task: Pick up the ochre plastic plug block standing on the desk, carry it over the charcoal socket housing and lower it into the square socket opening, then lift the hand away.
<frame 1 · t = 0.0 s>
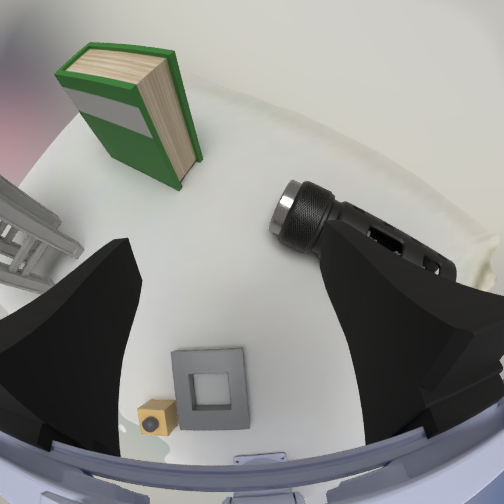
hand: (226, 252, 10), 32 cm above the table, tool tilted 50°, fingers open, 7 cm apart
stool: (53, 254, 44), on the table
plug: (164, 411, 37), on the table
hardback book: (154, 157, 49), on the table
socket housing: (212, 388, 38), on the table
muzzle brake: (354, 257, 44), on the table
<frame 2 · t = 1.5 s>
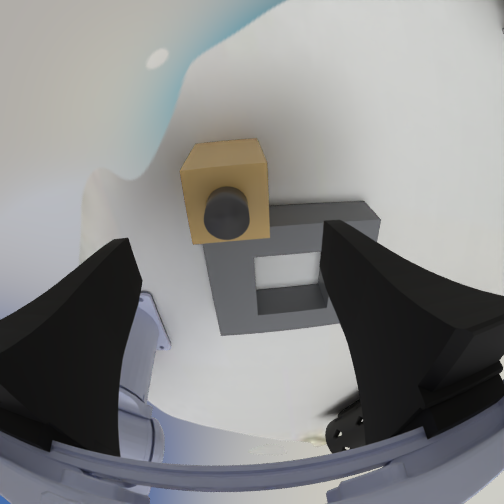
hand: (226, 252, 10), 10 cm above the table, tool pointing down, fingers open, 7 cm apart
plug: (228, 169, 18), on the table
socket housing: (287, 261, 23), on the table
muzzle brake: (394, 372, 37), on the table
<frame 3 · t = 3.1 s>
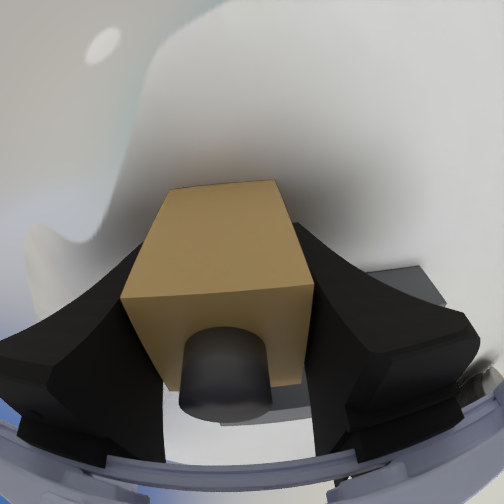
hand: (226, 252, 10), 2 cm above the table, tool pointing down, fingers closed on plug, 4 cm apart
plug: (226, 229, 12), on the table, touching gripper
socket housing: (309, 342, 16), on the table
muzzle brake: (410, 416, 30), on the table
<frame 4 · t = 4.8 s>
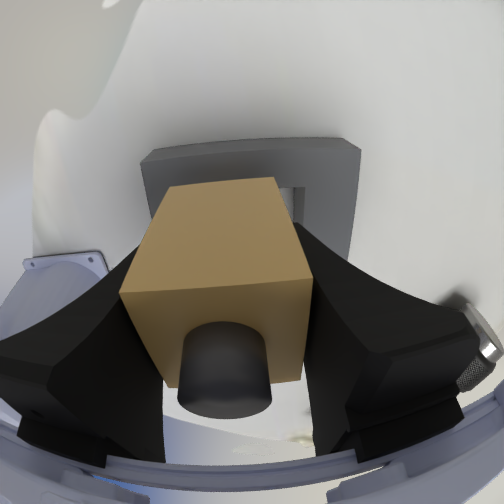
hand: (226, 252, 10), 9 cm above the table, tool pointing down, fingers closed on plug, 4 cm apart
plug: (226, 227, 12), point 7 cm above the table, touching gripper
socket housing: (253, 211, 19), on the table
muzzle brake: (390, 364, 33), on the table
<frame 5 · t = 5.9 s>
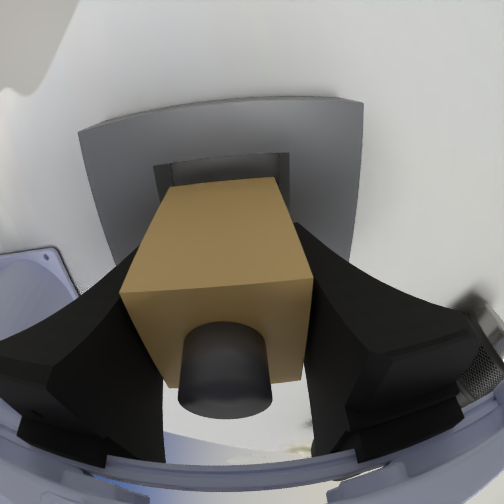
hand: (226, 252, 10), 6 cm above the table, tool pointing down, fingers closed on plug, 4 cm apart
plug: (226, 227, 12), point 4 cm above the table, touching gripper
socket housing: (227, 193, 15), on the table
muzzle brake: (397, 373, 29), on the table
when the fingers open (4 cm above the table, at t = 6.7 s): plug drops 2 cm, resting in socket housing.
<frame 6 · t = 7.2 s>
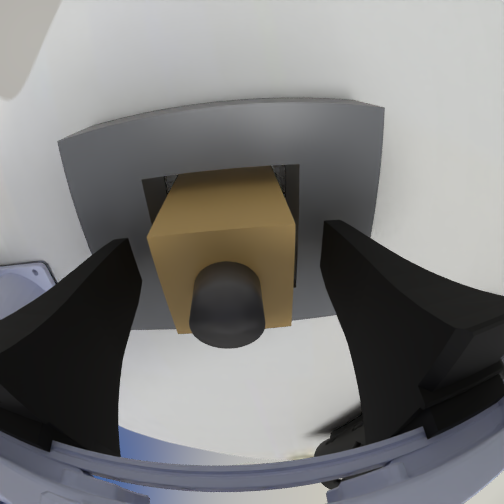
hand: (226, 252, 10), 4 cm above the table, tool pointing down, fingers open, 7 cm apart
plug: (228, 204, 13), resting in socket housing
socket housing: (227, 206, 13), on the table
muzzle brake: (402, 384, 28), on the table
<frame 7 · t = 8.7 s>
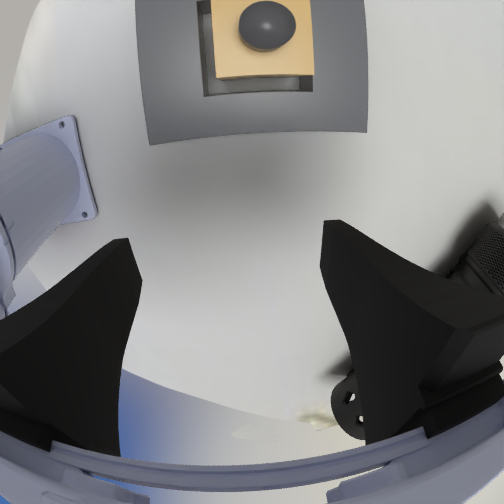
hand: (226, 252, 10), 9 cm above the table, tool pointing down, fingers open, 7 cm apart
plug: (253, 48, 14), resting in socket housing
socket housing: (252, 49, 14), on the table
muzzle brake: (421, 305, 28), on the table
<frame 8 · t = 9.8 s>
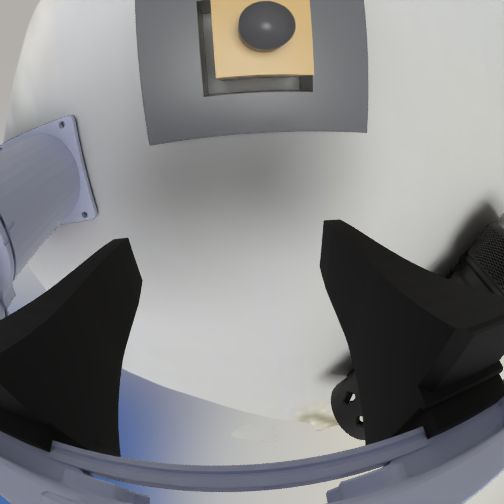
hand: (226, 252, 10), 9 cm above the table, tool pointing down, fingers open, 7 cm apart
plug: (253, 48, 14), resting in socket housing
socket housing: (252, 49, 14), on the table
muzzle brake: (421, 305, 28), on the table
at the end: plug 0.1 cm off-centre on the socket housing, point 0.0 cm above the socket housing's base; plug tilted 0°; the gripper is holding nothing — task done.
